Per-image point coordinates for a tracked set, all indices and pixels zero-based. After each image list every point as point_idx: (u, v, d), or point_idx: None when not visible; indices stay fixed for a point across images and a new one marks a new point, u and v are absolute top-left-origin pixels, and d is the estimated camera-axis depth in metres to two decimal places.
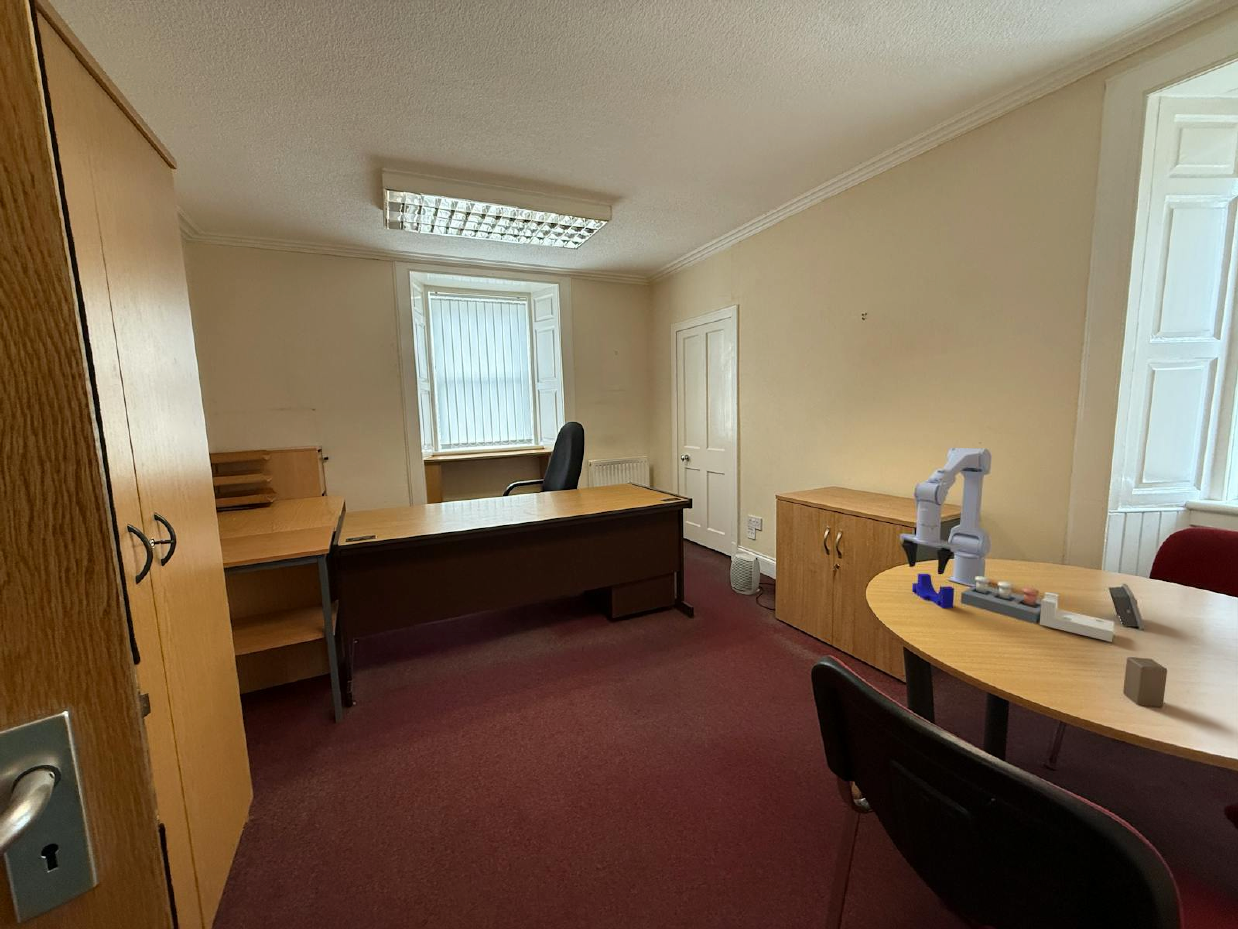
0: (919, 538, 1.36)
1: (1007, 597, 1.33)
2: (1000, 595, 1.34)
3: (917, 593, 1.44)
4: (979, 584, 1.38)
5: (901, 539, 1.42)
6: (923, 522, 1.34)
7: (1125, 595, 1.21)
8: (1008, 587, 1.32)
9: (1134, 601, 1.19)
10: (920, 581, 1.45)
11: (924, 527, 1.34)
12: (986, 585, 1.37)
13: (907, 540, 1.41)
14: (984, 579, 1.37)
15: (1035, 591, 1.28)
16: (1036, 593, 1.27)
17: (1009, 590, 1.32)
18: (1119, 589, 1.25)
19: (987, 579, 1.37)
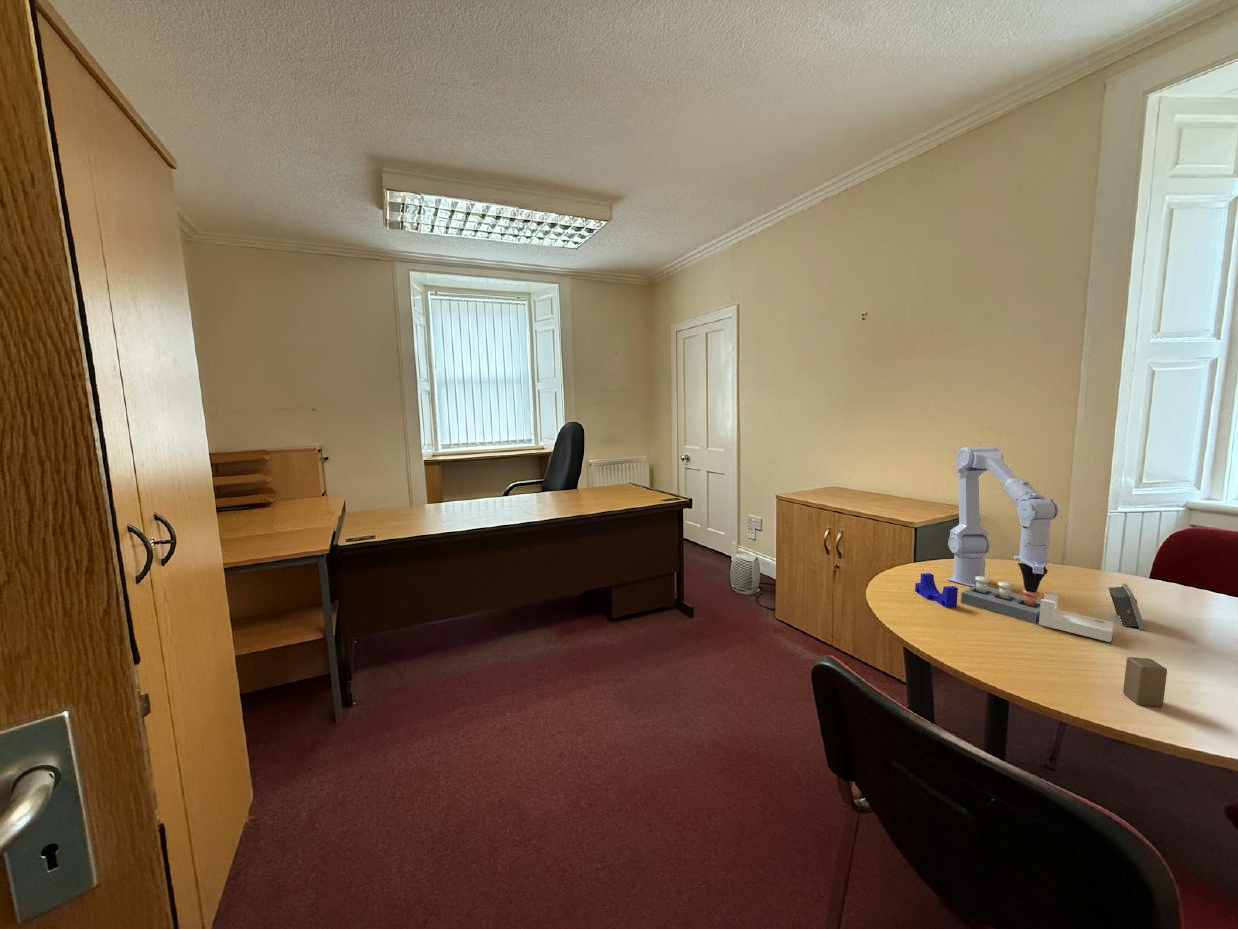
0: None
1: (1007, 597, 1.33)
2: (1000, 595, 1.34)
3: (920, 593, 1.45)
4: (979, 584, 1.38)
5: None
6: (1043, 542, 1.24)
7: (1125, 595, 1.21)
8: (1008, 587, 1.32)
9: (1134, 601, 1.20)
10: (923, 581, 1.45)
11: (1020, 543, 1.29)
12: (986, 585, 1.37)
13: None
14: (984, 579, 1.37)
15: None
16: (1036, 594, 1.27)
17: (1009, 590, 1.32)
18: (1119, 589, 1.25)
19: (987, 579, 1.37)
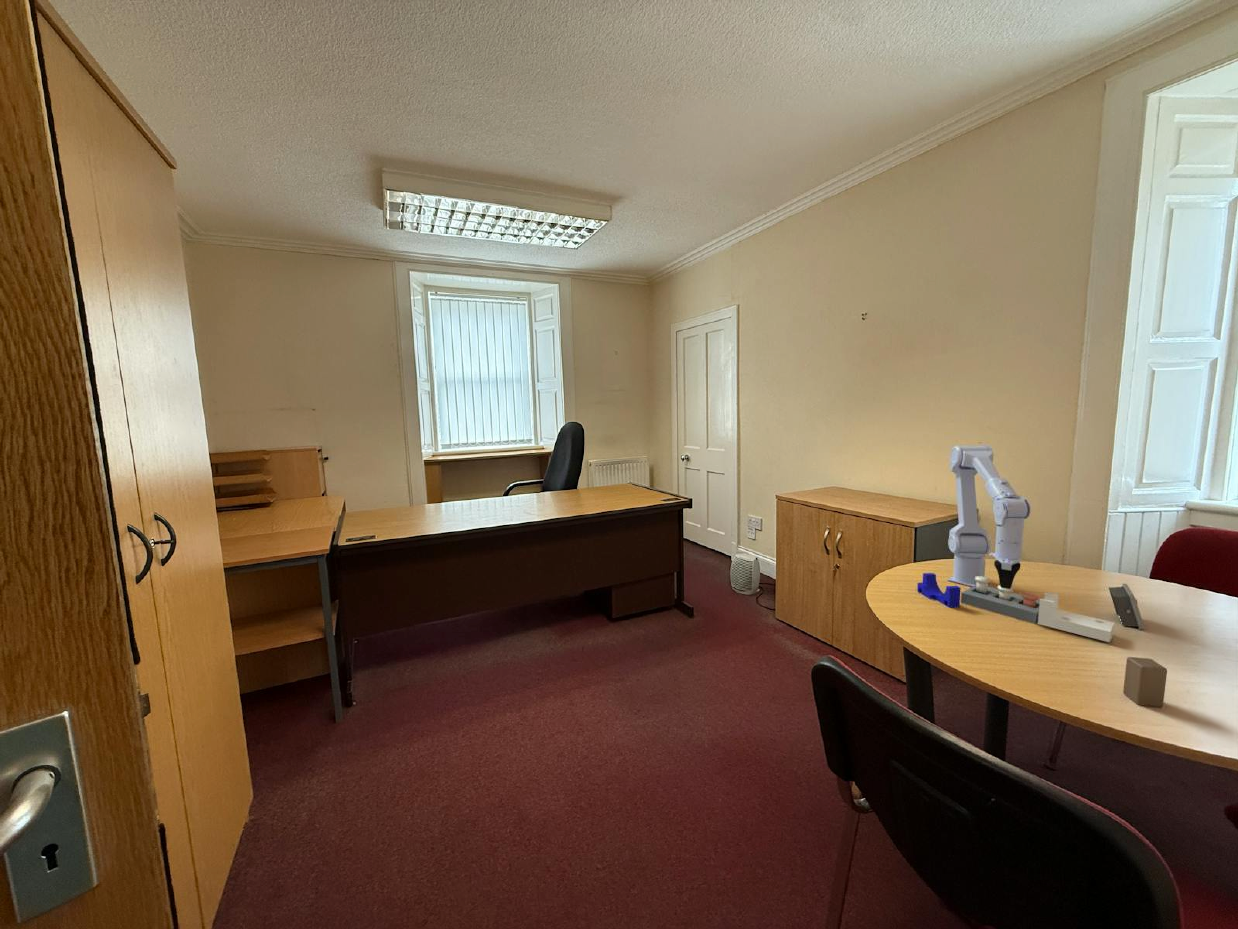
0: None
1: (1007, 600, 1.33)
2: (1000, 598, 1.34)
3: (922, 592, 1.45)
4: (979, 584, 1.38)
5: None
6: (1015, 540, 1.29)
7: (1125, 595, 1.21)
8: (1008, 591, 1.32)
9: (1134, 601, 1.19)
10: (925, 580, 1.46)
11: None
12: (986, 585, 1.37)
13: None
14: (984, 579, 1.37)
15: (1035, 596, 1.28)
16: (1036, 598, 1.27)
17: (1009, 594, 1.33)
18: (1119, 589, 1.25)
19: (987, 579, 1.37)
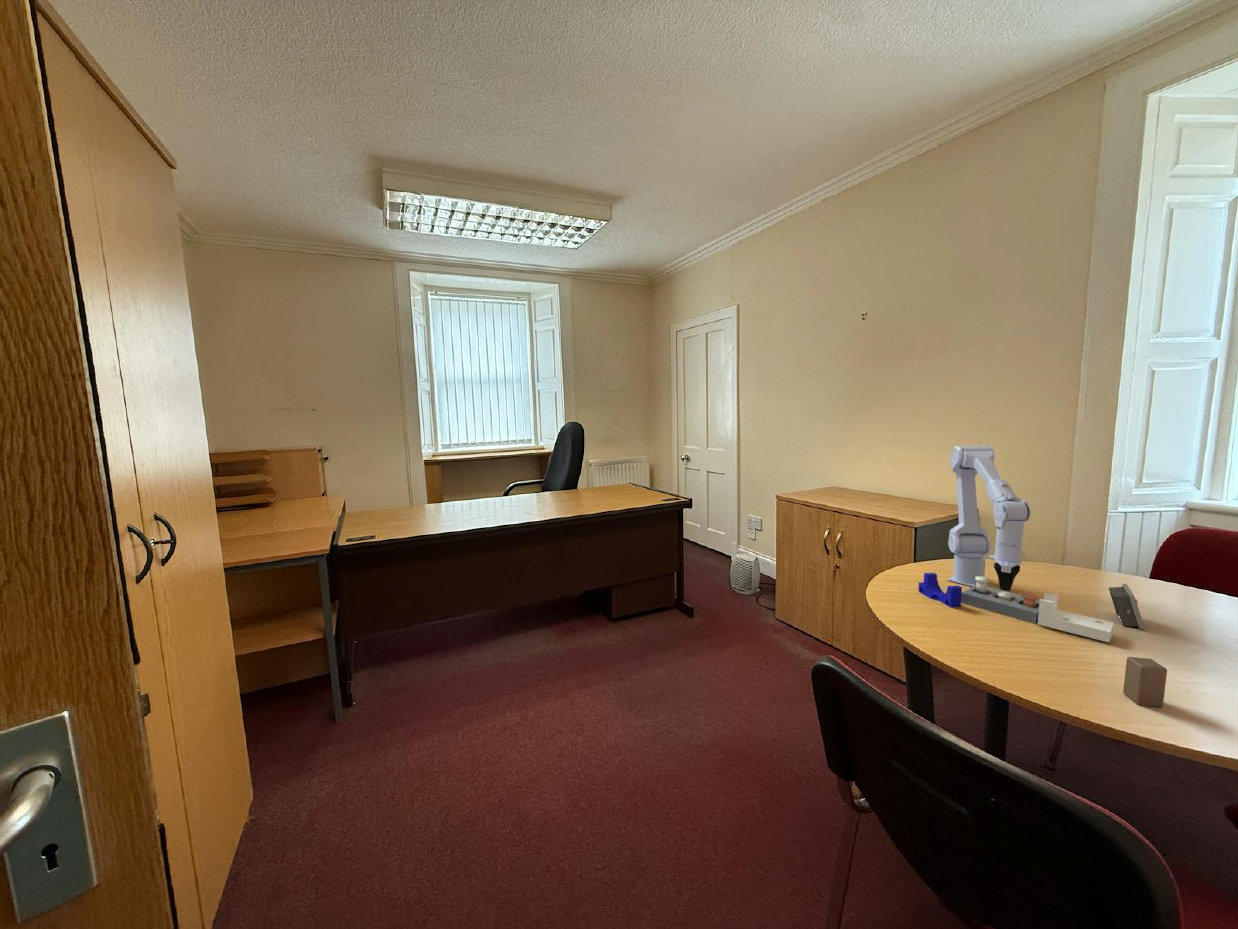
0: None
1: None
2: None
3: (924, 592, 1.45)
4: (979, 584, 1.38)
5: None
6: (1014, 542, 1.29)
7: (1125, 595, 1.21)
8: (1007, 597, 1.32)
9: (1134, 601, 1.20)
10: (926, 580, 1.46)
11: None
12: (986, 585, 1.37)
13: None
14: (984, 579, 1.37)
15: (1035, 596, 1.28)
16: (1036, 598, 1.27)
17: (1008, 600, 1.33)
18: (1119, 589, 1.25)
19: (987, 579, 1.37)
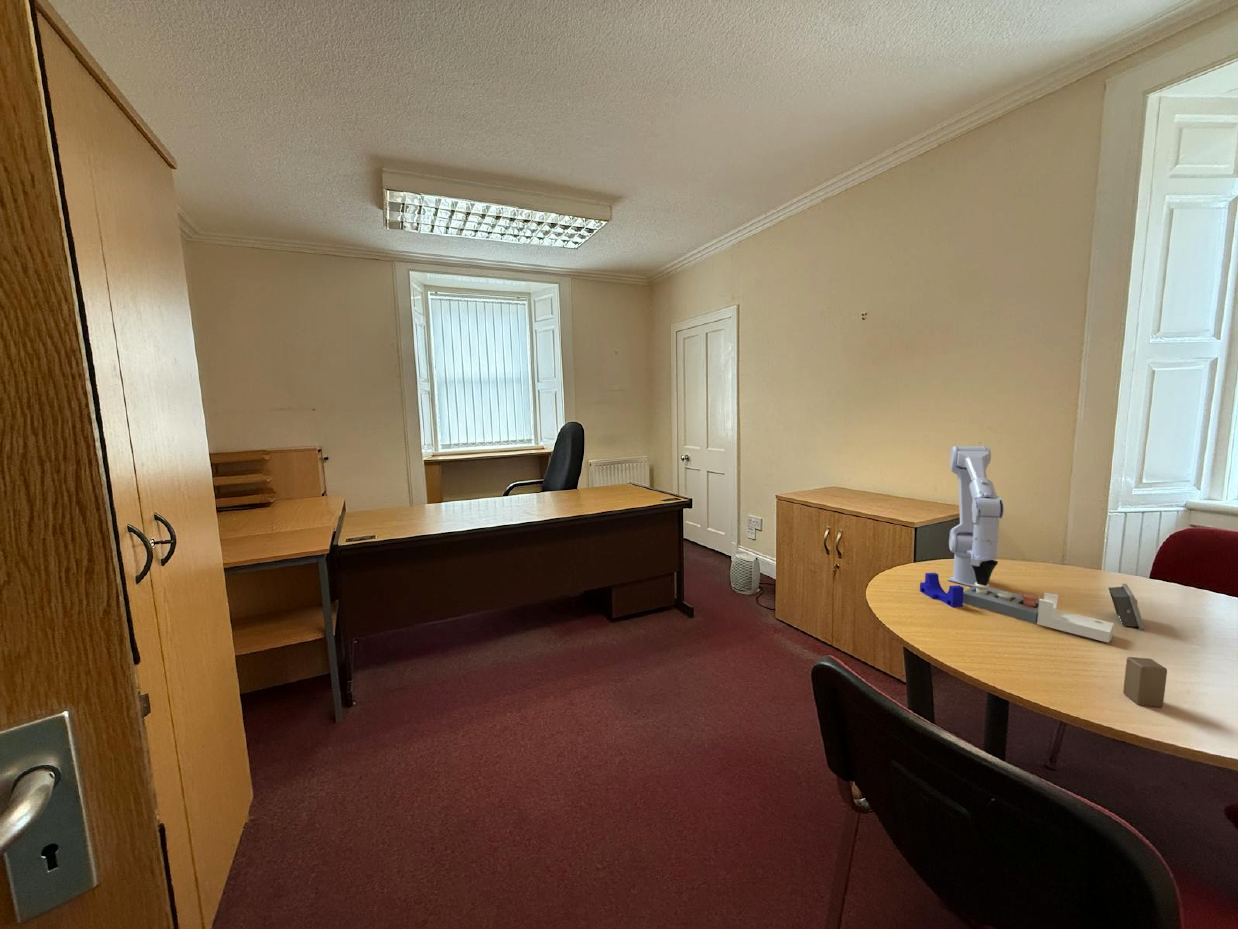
0: None
1: None
2: None
3: (925, 592, 1.45)
4: (979, 590, 1.38)
5: None
6: (987, 538, 1.34)
7: (1125, 595, 1.21)
8: (1007, 597, 1.32)
9: (1134, 601, 1.20)
10: (928, 580, 1.46)
11: None
12: (986, 591, 1.37)
13: None
14: None
15: (1035, 596, 1.28)
16: (1036, 598, 1.27)
17: (1008, 600, 1.33)
18: (1119, 589, 1.25)
19: (987, 585, 1.37)
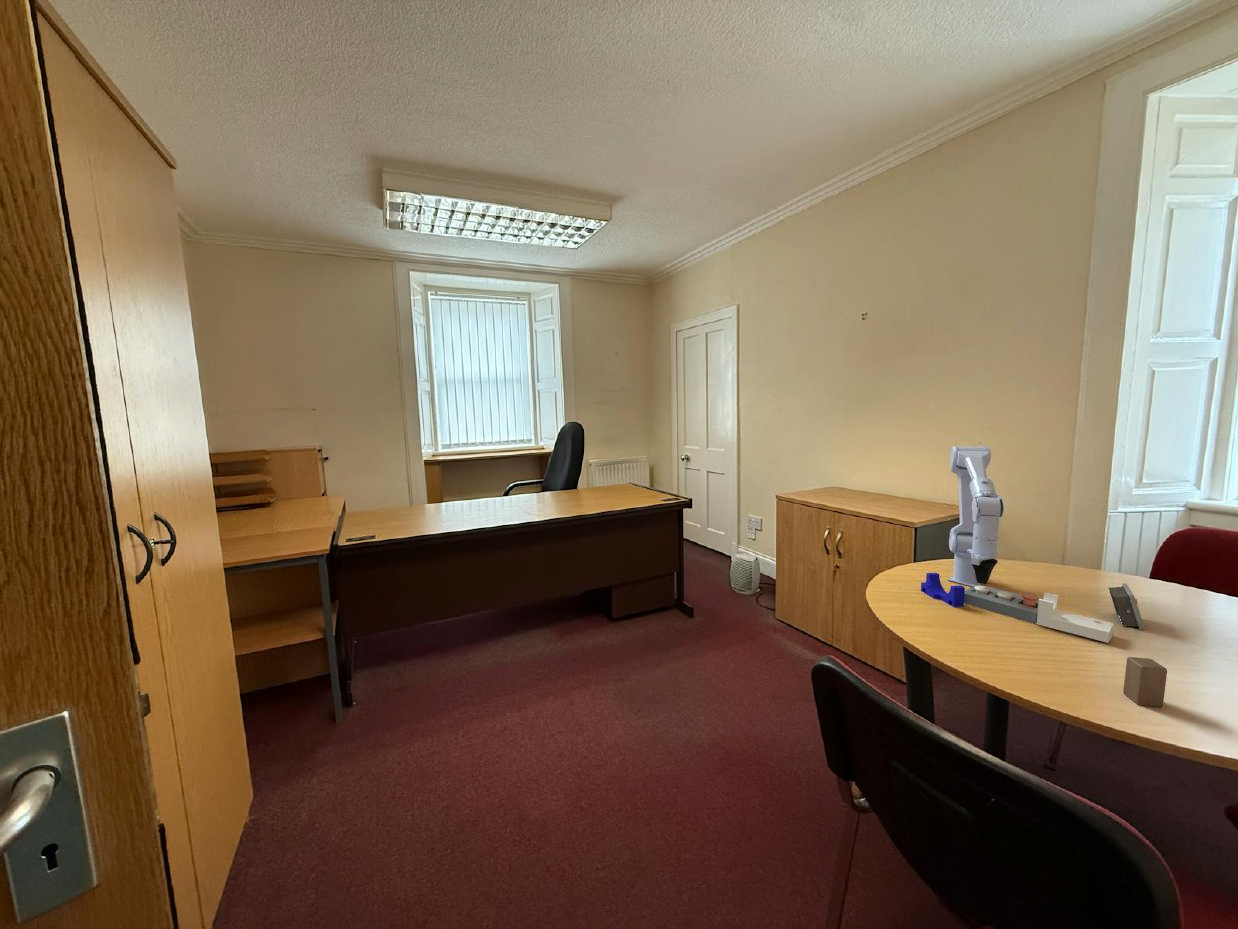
0: None
1: None
2: None
3: (926, 592, 1.45)
4: None
5: None
6: (987, 537, 1.34)
7: (1125, 595, 1.21)
8: (1007, 597, 1.32)
9: (1134, 601, 1.19)
10: (929, 580, 1.46)
11: None
12: None
13: None
14: (983, 589, 1.38)
15: (1035, 596, 1.28)
16: (1036, 598, 1.27)
17: (1008, 600, 1.33)
18: (1119, 589, 1.25)
19: (986, 589, 1.37)
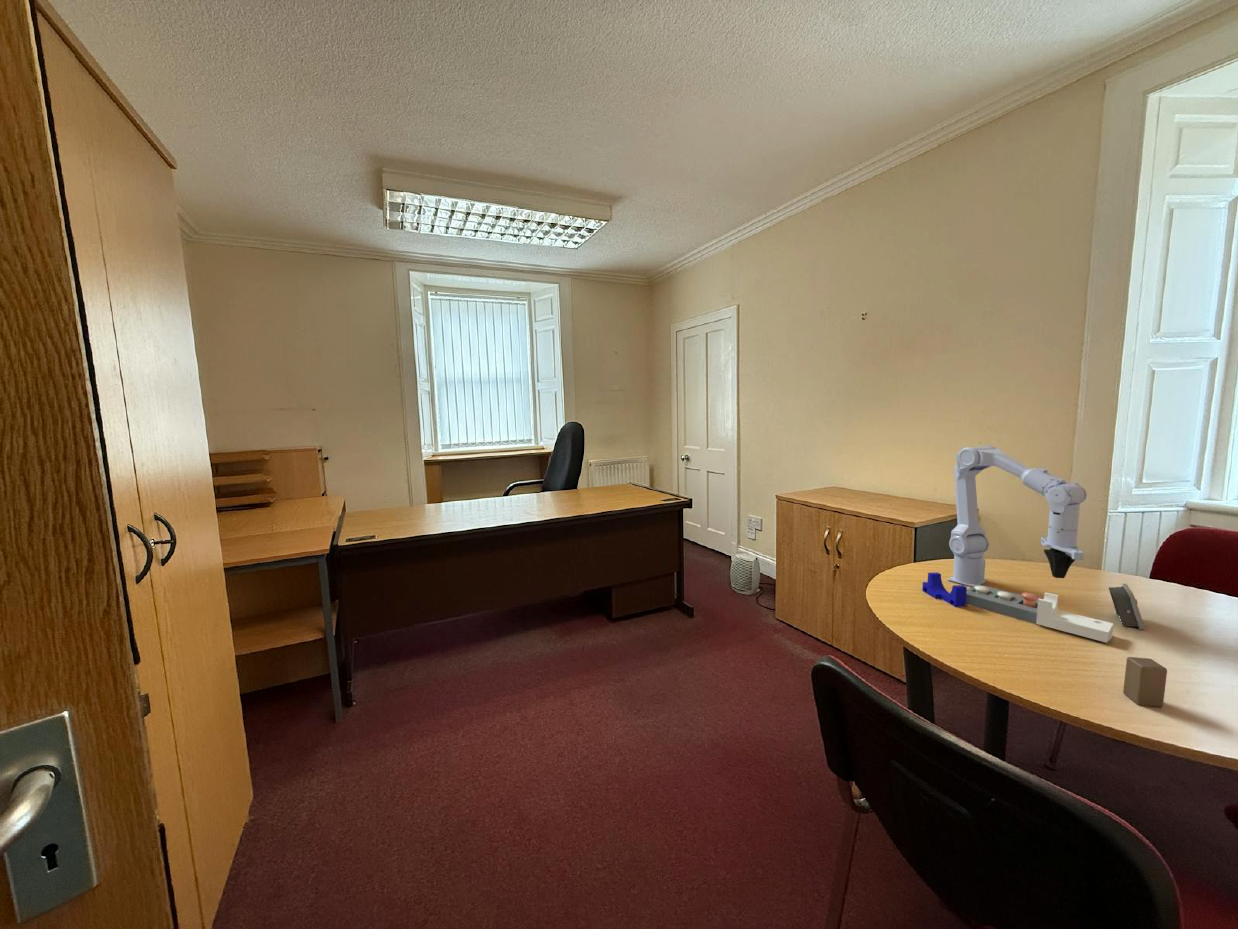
0: (1047, 541, 1.29)
1: None
2: None
3: (928, 592, 1.45)
4: None
5: (1041, 542, 1.34)
6: (1075, 527, 1.24)
7: (1125, 595, 1.21)
8: (1007, 597, 1.32)
9: (1134, 601, 1.19)
10: (930, 580, 1.46)
11: (1050, 529, 1.27)
12: None
13: None
14: (983, 589, 1.38)
15: (1035, 596, 1.28)
16: (1036, 598, 1.27)
17: (1008, 600, 1.33)
18: (1119, 589, 1.25)
19: (986, 589, 1.37)
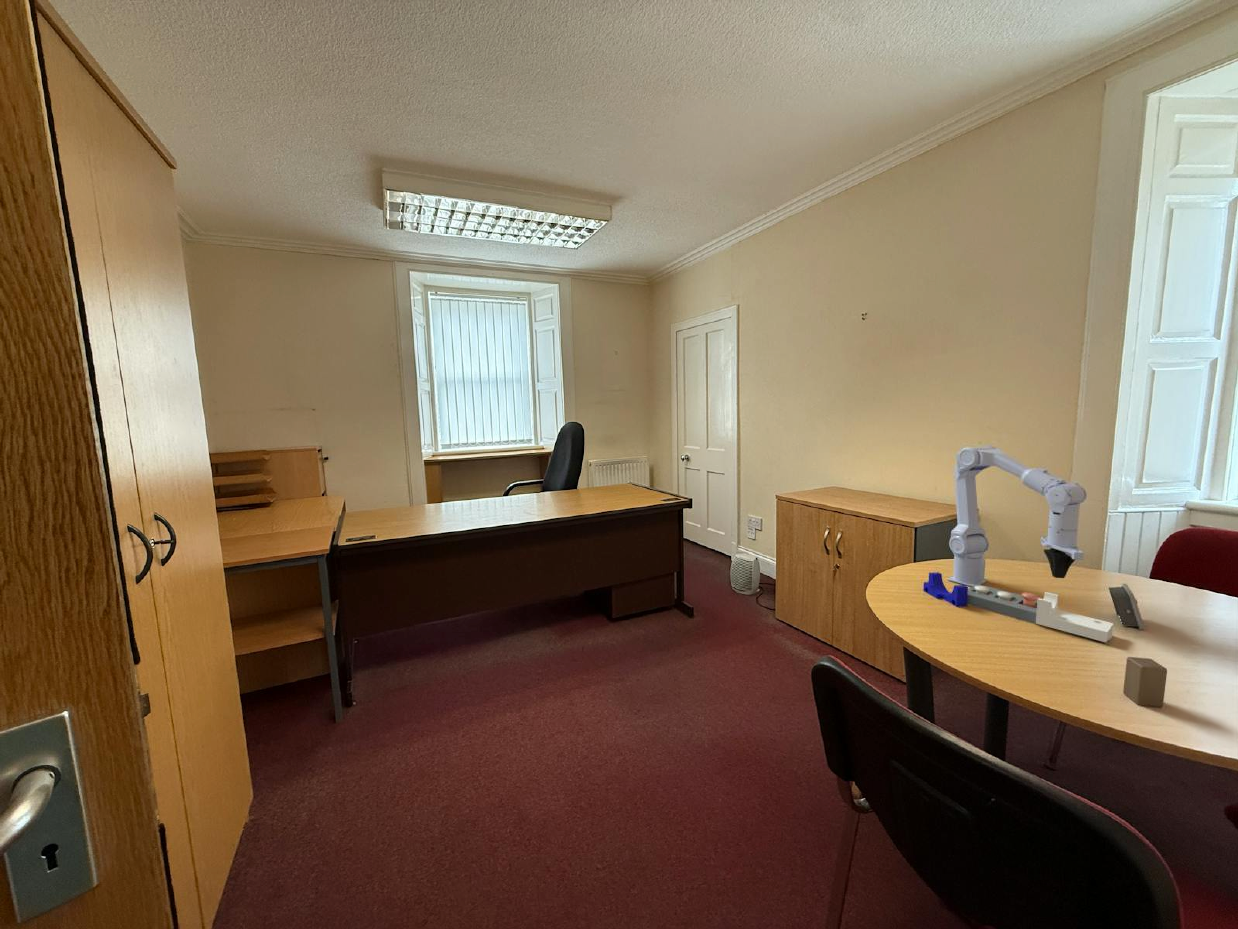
0: (1047, 541, 1.29)
1: None
2: None
3: (929, 592, 1.45)
4: None
5: (1041, 542, 1.34)
6: (1075, 527, 1.24)
7: (1125, 595, 1.21)
8: (1007, 597, 1.32)
9: (1134, 601, 1.19)
10: (931, 580, 1.46)
11: (1050, 529, 1.27)
12: None
13: None
14: (983, 589, 1.38)
15: (1035, 596, 1.28)
16: (1036, 598, 1.27)
17: (1008, 600, 1.33)
18: (1119, 589, 1.25)
19: (986, 589, 1.37)
